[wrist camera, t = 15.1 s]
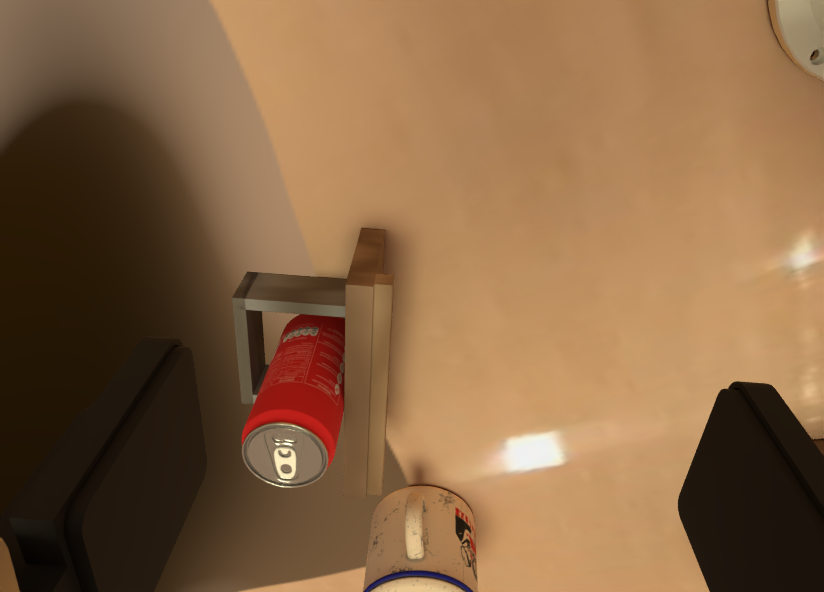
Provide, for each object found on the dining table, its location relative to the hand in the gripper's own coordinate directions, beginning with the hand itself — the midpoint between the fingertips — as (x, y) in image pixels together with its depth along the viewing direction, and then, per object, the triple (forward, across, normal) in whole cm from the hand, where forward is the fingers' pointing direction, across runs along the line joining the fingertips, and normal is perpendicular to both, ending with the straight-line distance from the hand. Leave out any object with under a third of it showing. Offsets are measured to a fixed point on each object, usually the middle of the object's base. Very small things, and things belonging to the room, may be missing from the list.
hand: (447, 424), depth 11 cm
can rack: (+28, +8, +17) cm, 34 cm away
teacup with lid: (+28, -1, +34) cm, 44 cm away
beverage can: (+28, +7, +17) cm, 34 cm away
